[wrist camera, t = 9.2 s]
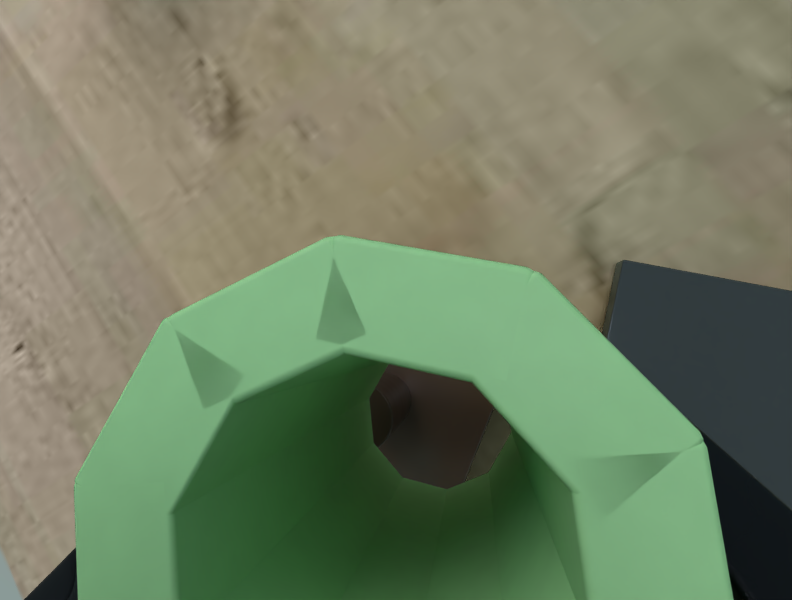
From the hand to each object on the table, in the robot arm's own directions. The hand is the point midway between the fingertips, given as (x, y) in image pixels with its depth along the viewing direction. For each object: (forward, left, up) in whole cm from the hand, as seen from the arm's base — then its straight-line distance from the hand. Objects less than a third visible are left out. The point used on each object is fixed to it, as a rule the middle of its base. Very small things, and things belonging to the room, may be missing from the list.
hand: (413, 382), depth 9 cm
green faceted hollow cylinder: (-1, -1, -5) cm, 5 cm away
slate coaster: (+3, -11, -13) cm, 18 cm away
